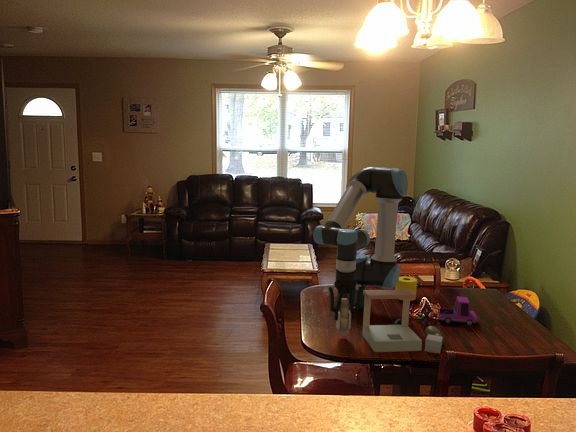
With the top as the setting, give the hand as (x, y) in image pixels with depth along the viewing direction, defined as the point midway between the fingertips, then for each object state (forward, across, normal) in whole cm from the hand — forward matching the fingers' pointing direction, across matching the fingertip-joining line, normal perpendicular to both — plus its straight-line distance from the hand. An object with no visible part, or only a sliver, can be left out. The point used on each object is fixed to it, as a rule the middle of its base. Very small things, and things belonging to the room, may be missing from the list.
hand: (343, 327), depth 203 cm
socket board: (+5, +18, -5) cm, 19 cm away
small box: (+5, +32, -13) cm, 35 cm away
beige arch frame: (+1, +18, 0) cm, 18 cm away
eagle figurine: (+5, +28, +9) cm, 30 cm away
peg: (+3, 0, 0) cm, 3 cm away
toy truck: (+6, +55, +16) cm, 57 cm away
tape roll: (+6, +44, +48) cm, 65 cm away
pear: (+5, +36, -5) cm, 36 cm away
